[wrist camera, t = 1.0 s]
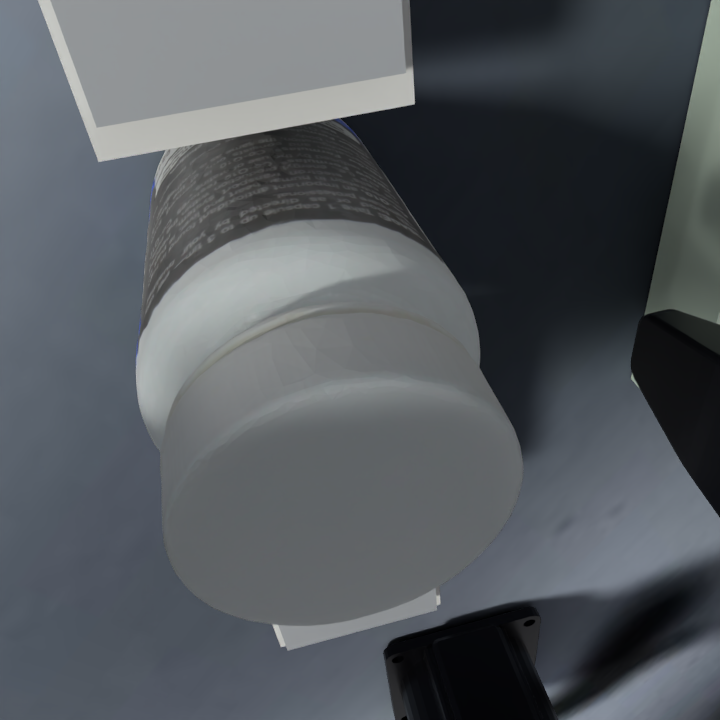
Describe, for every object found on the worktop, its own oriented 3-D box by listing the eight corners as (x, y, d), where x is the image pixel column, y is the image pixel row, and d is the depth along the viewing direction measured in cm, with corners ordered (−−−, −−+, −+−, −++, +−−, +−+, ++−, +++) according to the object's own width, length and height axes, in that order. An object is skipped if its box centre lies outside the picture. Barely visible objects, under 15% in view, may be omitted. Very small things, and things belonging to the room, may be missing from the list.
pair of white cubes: (393, 471, 19) (445, 618, 15) (262, 503, 19) (283, 663, 15) (286, -493, 8) (383, -841, 4) (-48, -466, 7) (-290, -829, 4)
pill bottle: (98, 196, 12) (4, 551, 6) (282, 32, 11) (416, 239, 5) (259, 339, 15) (317, 685, 9) (418, 217, 14) (620, 506, 8)
